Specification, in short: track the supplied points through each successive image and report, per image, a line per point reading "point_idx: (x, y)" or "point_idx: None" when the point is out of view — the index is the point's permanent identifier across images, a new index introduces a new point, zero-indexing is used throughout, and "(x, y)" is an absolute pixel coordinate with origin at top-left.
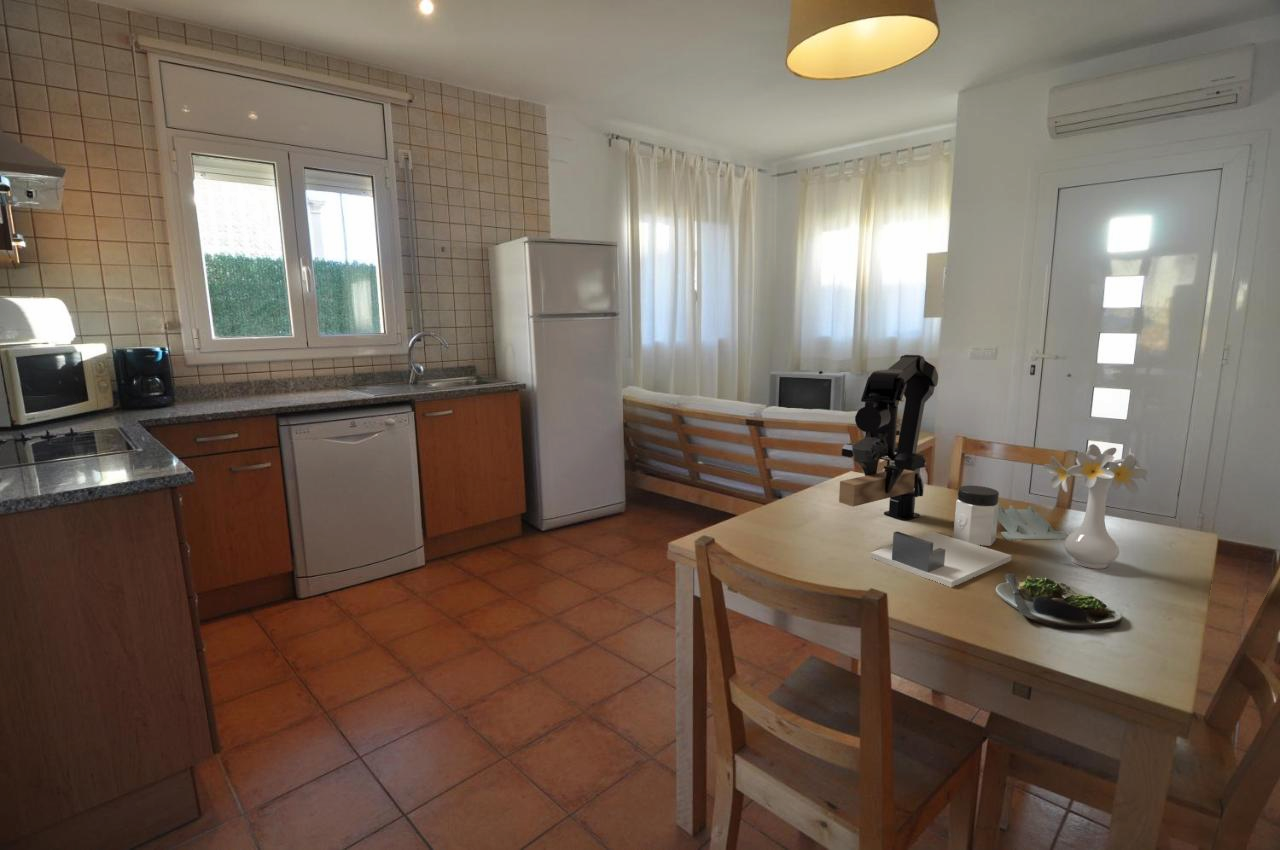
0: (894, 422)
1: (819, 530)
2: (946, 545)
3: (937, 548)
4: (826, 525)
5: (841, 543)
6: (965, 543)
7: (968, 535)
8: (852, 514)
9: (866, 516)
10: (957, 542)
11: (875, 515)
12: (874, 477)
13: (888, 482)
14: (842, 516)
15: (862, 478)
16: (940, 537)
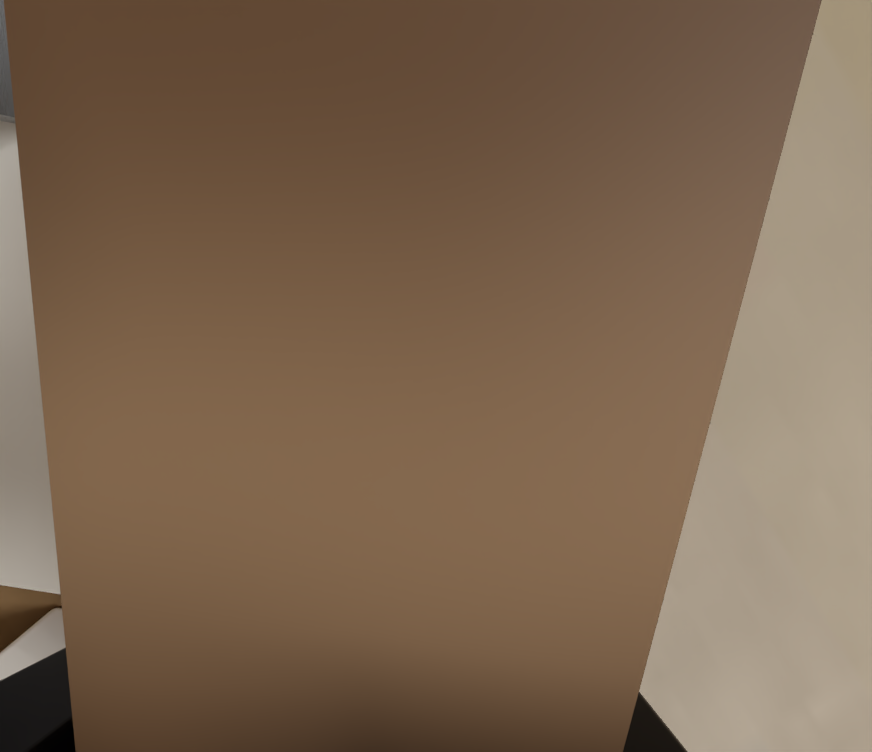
0: None
1: (833, 131)
2: (35, 457)
3: (26, 369)
4: (844, 289)
5: None
6: (9, 561)
7: (18, 643)
8: (799, 644)
9: (699, 667)
10: (37, 545)
11: (662, 719)
12: (308, 681)
13: (36, 672)
14: (840, 561)
15: (503, 248)
16: None
